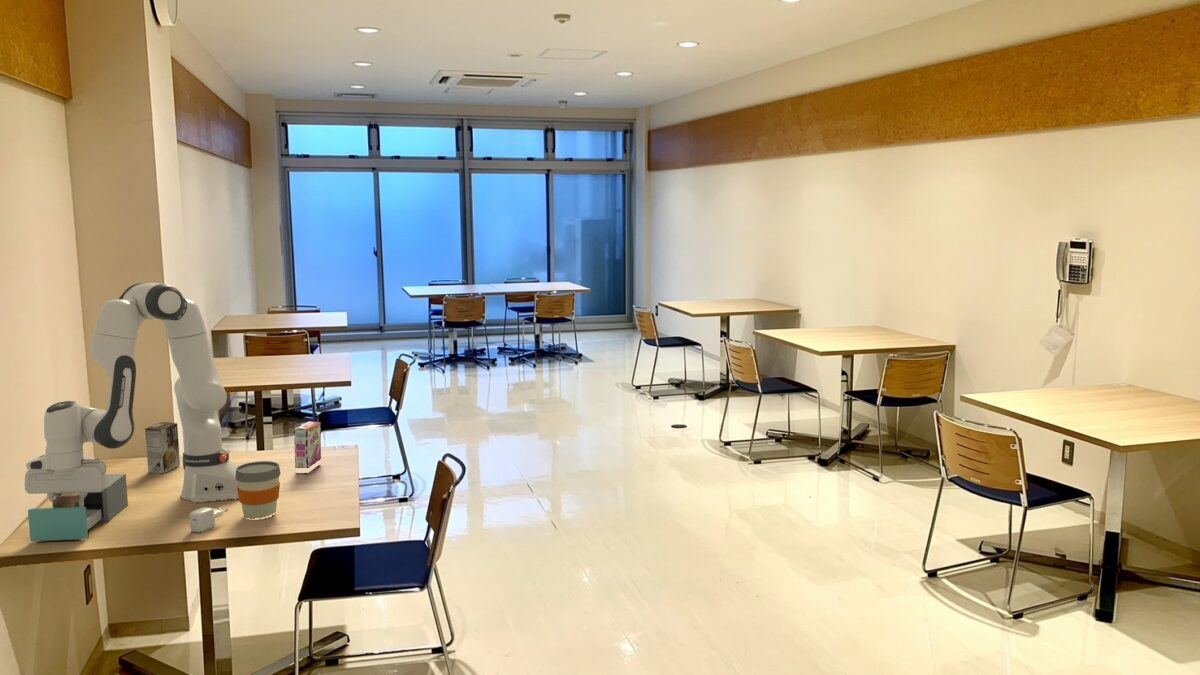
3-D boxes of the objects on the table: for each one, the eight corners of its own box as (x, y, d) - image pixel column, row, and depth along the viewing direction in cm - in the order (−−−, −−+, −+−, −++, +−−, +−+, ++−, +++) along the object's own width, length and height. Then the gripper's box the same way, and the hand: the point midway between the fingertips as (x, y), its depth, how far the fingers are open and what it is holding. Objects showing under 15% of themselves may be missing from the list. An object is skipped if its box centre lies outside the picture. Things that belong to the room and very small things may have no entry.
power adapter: (218, 518, 244) (217, 499, 243) (231, 521, 243) (230, 502, 242) (188, 531, 234) (186, 512, 233) (201, 534, 232) (200, 514, 231)
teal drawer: (107, 520, 240) (105, 491, 238) (86, 538, 226) (83, 508, 225) (55, 522, 237) (53, 493, 236) (30, 541, 224) (27, 510, 222)
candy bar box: (308, 474, 287) (306, 429, 285) (294, 474, 287) (293, 428, 285) (322, 465, 298) (320, 421, 296) (309, 464, 298) (307, 420, 296)
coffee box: (164, 465, 295) (161, 421, 292) (180, 466, 294) (178, 422, 291) (147, 472, 286) (144, 428, 283) (164, 474, 285) (161, 429, 283)
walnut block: (83, 508, 235) (81, 491, 234) (71, 517, 228) (70, 500, 228) (65, 509, 234) (64, 492, 234) (53, 517, 228) (52, 500, 227)
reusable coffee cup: (232, 513, 249) (230, 465, 247) (275, 504, 257) (273, 458, 254) (243, 525, 239) (241, 476, 237) (287, 516, 247) (285, 468, 245)
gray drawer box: (128, 505, 254) (125, 473, 252) (108, 521, 240) (106, 488, 239) (78, 507, 252) (76, 475, 250) (56, 523, 238) (53, 490, 237)
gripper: (110, 455, 234) (112, 502, 236) (31, 457, 231) (35, 504, 233) (100, 462, 228) (103, 509, 230) (19, 463, 225) (23, 512, 226)
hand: (68, 507), depth 231 cm, fingers closed on walnut block, 4 cm apart
